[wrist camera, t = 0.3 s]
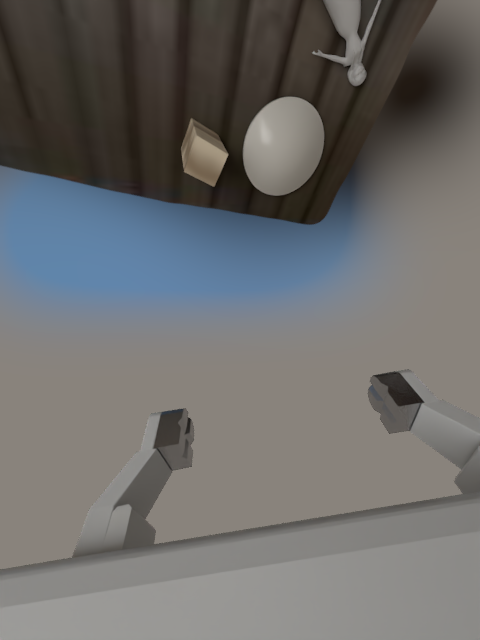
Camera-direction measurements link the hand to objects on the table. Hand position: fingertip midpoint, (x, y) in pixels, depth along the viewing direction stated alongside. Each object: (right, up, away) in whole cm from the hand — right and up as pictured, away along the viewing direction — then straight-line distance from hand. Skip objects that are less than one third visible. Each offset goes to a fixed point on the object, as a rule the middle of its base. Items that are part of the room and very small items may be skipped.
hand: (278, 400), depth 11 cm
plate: (+7, +37, +37) cm, 53 cm away
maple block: (-9, +36, +34) cm, 50 cm away
